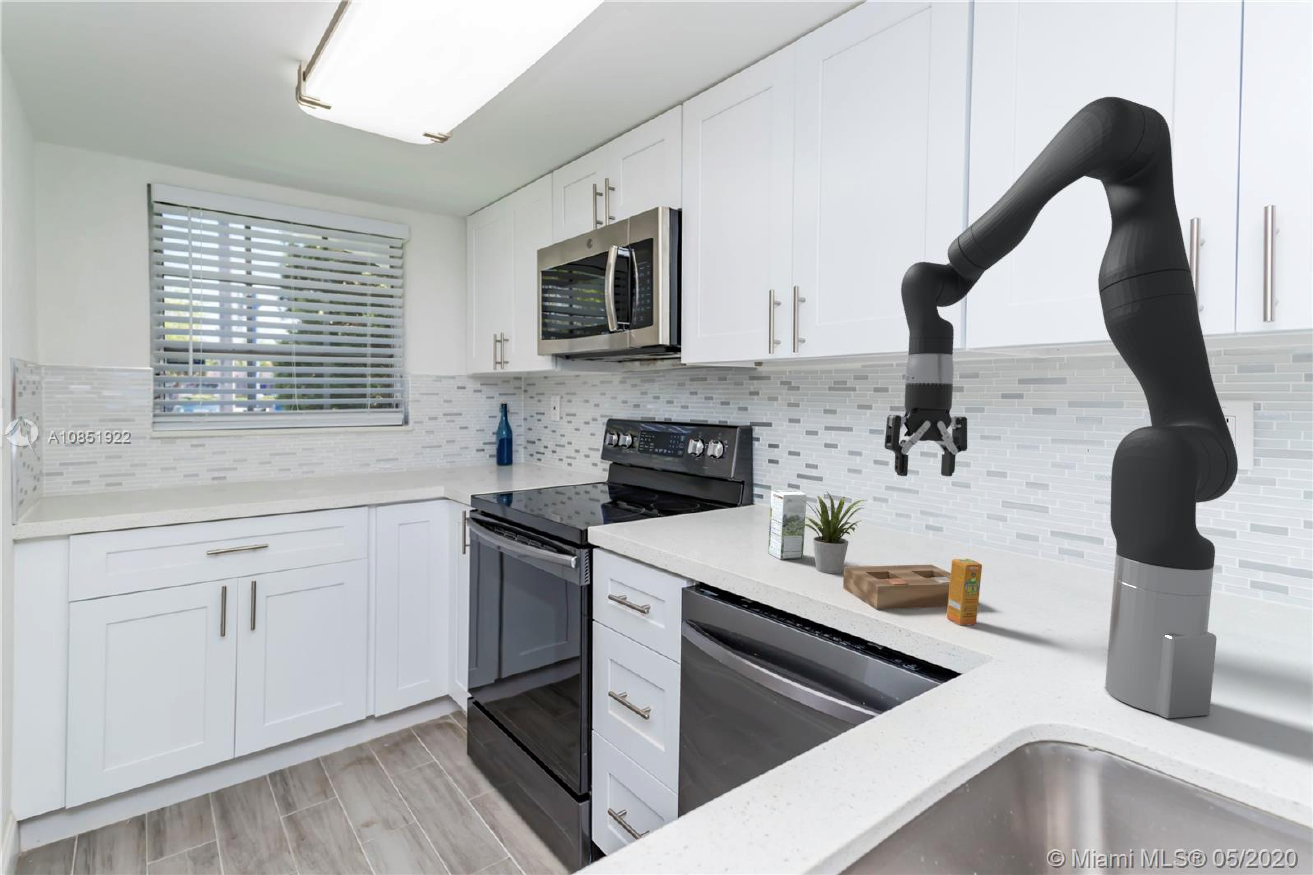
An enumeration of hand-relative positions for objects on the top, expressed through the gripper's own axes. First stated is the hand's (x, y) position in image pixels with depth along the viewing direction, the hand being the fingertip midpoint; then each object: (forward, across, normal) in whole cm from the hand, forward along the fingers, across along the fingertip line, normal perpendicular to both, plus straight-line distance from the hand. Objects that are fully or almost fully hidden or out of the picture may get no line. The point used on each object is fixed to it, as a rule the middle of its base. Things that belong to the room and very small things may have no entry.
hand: (924, 475), depth 112 cm
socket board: (+22, 0, +3) cm, 22 cm away
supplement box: (+23, +2, -10) cm, 25 cm away
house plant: (+22, -6, +20) cm, 31 cm away
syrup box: (+22, -12, +32) cm, 41 cm away
